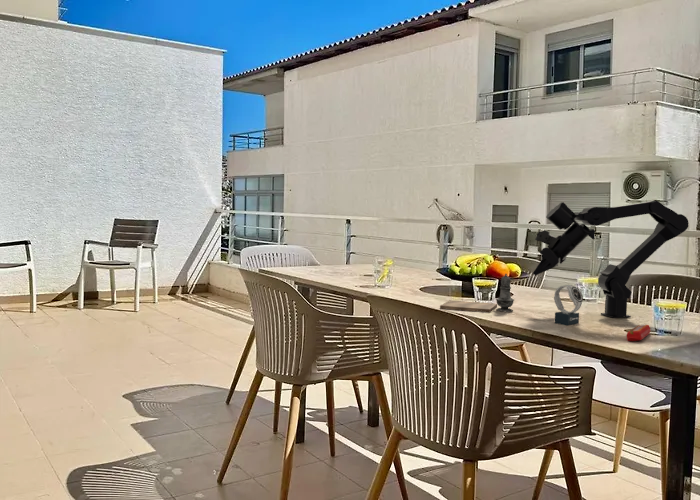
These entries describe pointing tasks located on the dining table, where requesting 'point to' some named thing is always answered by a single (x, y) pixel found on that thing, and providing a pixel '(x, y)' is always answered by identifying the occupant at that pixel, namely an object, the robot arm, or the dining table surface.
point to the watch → (563, 316)
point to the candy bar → (638, 332)
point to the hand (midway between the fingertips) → (534, 274)
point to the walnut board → (469, 306)
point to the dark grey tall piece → (505, 295)
